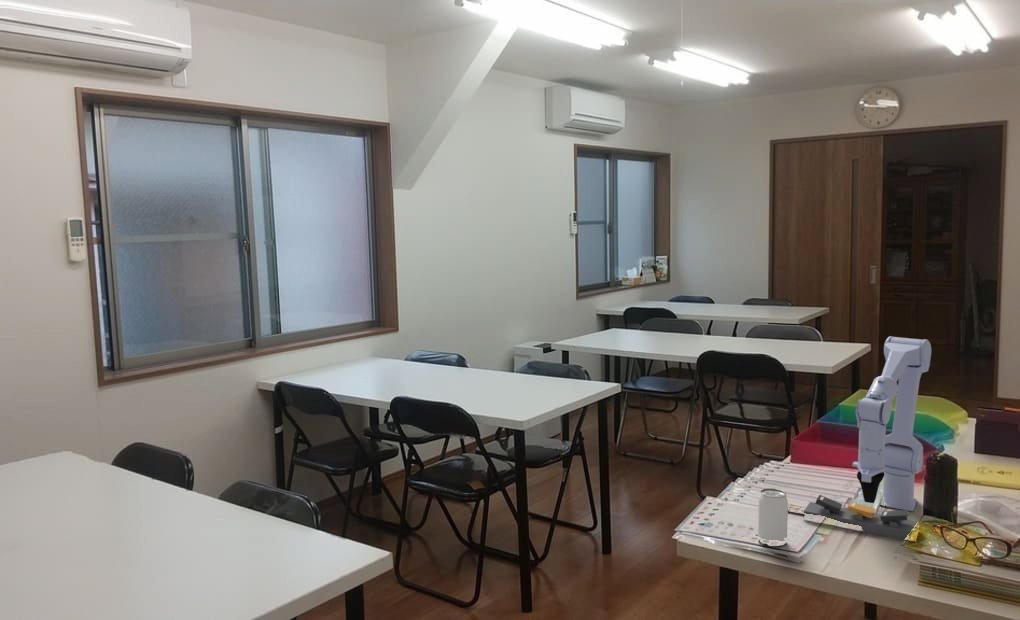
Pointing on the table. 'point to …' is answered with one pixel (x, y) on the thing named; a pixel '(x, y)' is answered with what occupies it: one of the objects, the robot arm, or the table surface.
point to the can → (772, 514)
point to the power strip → (865, 522)
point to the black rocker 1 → (828, 504)
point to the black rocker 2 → (894, 515)
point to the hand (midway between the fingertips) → (869, 501)
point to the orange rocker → (861, 509)
